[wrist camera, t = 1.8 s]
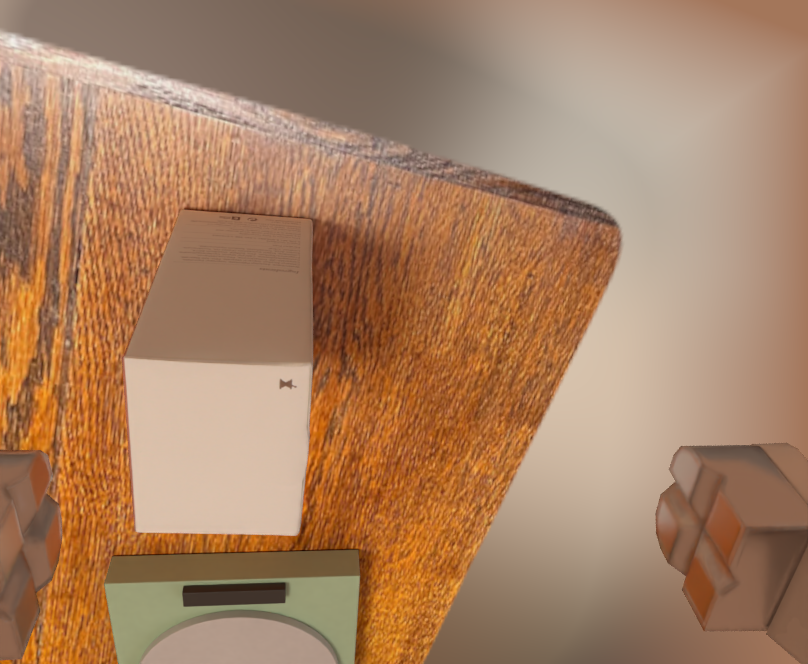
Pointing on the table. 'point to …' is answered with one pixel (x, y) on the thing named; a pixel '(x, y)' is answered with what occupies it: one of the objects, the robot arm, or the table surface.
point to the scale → (235, 607)
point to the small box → (223, 378)
